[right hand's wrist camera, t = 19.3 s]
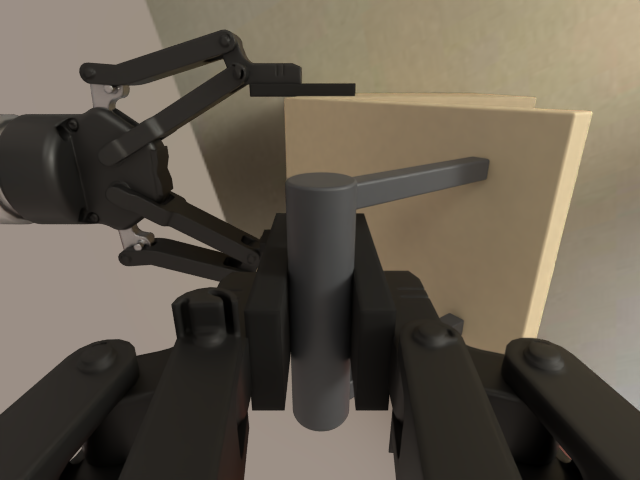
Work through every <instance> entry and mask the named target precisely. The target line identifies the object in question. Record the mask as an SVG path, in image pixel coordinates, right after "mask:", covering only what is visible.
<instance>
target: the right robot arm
mask: <svg viewBox="0 0 640 480" xmlns="http://www.w3.org/2000/svg"><path fill="white" fill-rule="evenodd" d="M172 311H173V317H174V323H175V329H176V335H177V340H176V342H175V345H174V347H172V348H169V349H166V350H162V351H158V352H153V353H148V354H143V355H138V356H136V352H135V348H134V346H133V345H132V344H131V343H130V342H127V341H124V340H120V339H114V340H102V341H98V342H94V343H91V344H89V345H87V346H84V347H82V348H80V349H78V350H77V351H75V352H74V353H72V354H71V355H69V356H68V357H67V358H65V359H64V360H63V361H62V362H61V363H60V364H58V365H57V366H56V367H55V368H54V369H53V370H52V371H50V372H49V373H48V374H47V375H46V376H45V377H43V378H42V379H41V380H40V381H39V382H38V383H37V384H35V385H34V386H33V387H32V388H31V389H29V390H28V391H27V392H26V393H25V394H24V395H23V396H21V397H20V398H19V399H18V400H17V401H16V402H14V403H13V404H12V405H11V406H10V407H9V408H7V409H6V410H5V411H4V412H3V413H2V414H0V480H244V474H245V463H246V454H247V444H248V434H249V421H248V407H249V402H250V398H251V401H252V410H285V401H286V392H287V382H288V373H289V364H290V355H291V339H290V309H289V280H288V250H287V221H286V213H276V216H275V219H274V222H273V225H272V228H271V231H270V234H269V237H268V240H267V243H266V246H265V249H264V252H263V255H262V258H261V261H260V264H259V267H258V270H257V272H231V273H230V274H228V275H227V276H226V277H224V278H223V279H222V280H221V281H220V283H219V285H218V287H217V288H214V287H209V288H201V289H196V290H193V291H190V292H187V293H185V294H183V295H182V296H180V297H178V298H177V299H176V300H175V301H174V302H173V303H172ZM350 361H351V370H352V379H353V389H354V398H355V407H356V410H388V405H389V394H390V399H391V403H392V407H393V410H392V421H391V432H390V443H389V453H394V463H395V473H396V480H640V411H639V410H637V409H636V408H635V407H634V406H633V405H631V404H630V403H629V402H628V401H627V400H626V399H624V398H623V397H622V396H621V395H620V394H619V393H617V392H616V391H615V390H614V389H613V388H612V387H610V386H609V385H608V384H607V383H606V382H605V381H603V380H602V379H601V378H600V377H599V376H598V375H596V374H595V373H594V372H593V371H592V370H591V369H589V368H588V367H587V366H586V365H585V364H584V363H582V362H581V361H580V360H579V359H578V358H576V357H575V356H574V355H573V354H571V353H570V352H568V351H567V350H565V349H564V348H562V347H561V346H558V345H556V344H554V343H551V342H549V341H546V340H543V339H542V340H541V339H537V338H518V339H514V340H511V341H510V342H509V343H508V344H507V345H506V349H505V354H501V353H496V352H491V351H486V350H481V349H478V348H474V347H471V346H468V345H466V344H465V342H464V339H463V337H462V336H461V335H460V333H459V332H458V331H457V330H456V329H454V328H453V327H451V326H450V325H448V324H445V323H442V322H441V320H440V318H439V316H438V314H437V312H436V310H435V308H434V306H433V304H432V302H431V300H430V298H428V294H427V292H426V290H424V286H423V285H422V283H421V281H420V279H419V278H418V277H417V276H415V275H414V274H412V273H411V272H410V271H383V269H382V266H381V263H380V260H379V257H378V254H377V251H376V248H375V245H374V242H373V239H372V236H371V233H370V230H369V227H368V224H367V221H366V218H365V215H364V213H356V231H355V258H354V270H353V292H352V321H351V349H350ZM559 445H560V446H561V447H562V448H563V449H564V450H565V452H566V453H567V454H568V455H569V456H570V457H571V459H572V460H571V459H569V458H568V457H567V456H566V455H565V454H564V453H563V451H562V450H561V449H560V448H559ZM81 447H82V449H81V450H80V452H79V453H78V454H77V455H76V456H75V457H74V458H73V459H72V460H71V458H72V457H73V456H74V455H75V454H76V452H77V451H78V450H79V449H80V448H81ZM70 460H71V461H70Z"/></svg>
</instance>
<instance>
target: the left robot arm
mask: <svg viewBox="0 0 640 480" xmlns="http://www.w3.org/2000/svg"><path fill="white" fill-rule="evenodd" d="M221 59H224V62H225V64H226V66H227V68H226V69H225V70H223V71H222V72H220V73H219V74H217V75H216V76H214V77H213V78H211V79H210V80H208V81H207V82H205V83H203V84H202V85H200V86H199V87H197V88H196V89H194V90H193V91H191V92H190V93H188V94H187V95H185V96H184V97H182V98H180V99H179V100H177V101H176V102H174V103H173V104H171V105H170V106H168V107H167V108H165V109H164V110H162V111H161V112H159V113H158V114H156V115H154V116H153V117H151V118H149V119H147V120H145V121H143V122H142V123H140V124H139V123H137V122H136V121H134V120H133V119H131V118H130V117H128V116H127V115H125V114H124V113H122V112H121V111H119V110H118V109H116V108H115V104H116V102H117V100H119V99H120V98H125V97H127V96H128V94H129V90H130V88H129V85H142V84H146V83H150V82H153V81H156V80H159V79H162V78H165V77H168V76H171V75H175V74H178V73H181V72H184V71H187V70H190V69H193V68H196V67H199V66H203V65H206V64H209V63H212V62H215V61H218V60H221ZM79 73H80V76H81V78H82V79H83V80H84V81H85V82H87V83H89V84H90V86H91V94H92V101H93V108H92V109H90V110H88V111H87V112H86V113H84V114H25V115H21V116H18V115H14V114H0V224H32V223H37V224H104V225H107V226H110V227H112V228H114V229H117V230H119V234H120V238H121V241H122V245H123V248H124V250H123V251H122V252H121V253H120V254H119V256H118V258H119V261H120V263H122V264H123V265H125V266H139V265H154V266H158V267H163V268H166V269H170V270H175V271H179V272H183V273H187V274H191V275H195V276H199V277H203V278H207V279H211V280H215V281H219V282H220V281H221V280H222V279H223V278H224V277H226V276H227V275H228V274H230V273H231V272H256V270H257V268H258V266H259V264H260V261H261V258H262V255H263V252H264V249H265V246H266V243H267V240H268V237H269V234H270V231H271V230H264V232H263V235H262V236H261V238H260V239H258V238H256V237H254V236H252V235H250V234H248V233H246V232H244V231H242V230H240V229H238V228H236V227H234V226H232V225H230V224H228V223H226V222H224V221H222V220H220V219H218V218H216V217H214V216H213V215H211V214H209V213H207V212H205V211H203V210H201V209H199V208H197V207H195V206H193V205H191V204H189V203H187V202H186V200H185V199H184V198H183V197H181V196H179V195H177V194H175V193H173V192H171V190H172V189H173V183H172V178H171V175H170V173H169V171H168V168H167V166H168V158H169V156H168V149H167V146H164V144H163V143H162V141H161V140H163V139H164V138H166V137H167V136H169V135H171V134H172V133H174V132H175V131H176V130H177V129H179V128H180V127H182V126H183V125H185V124H187V123H188V122H190V121H191V120H193V119H194V118H196V117H198V116H199V115H201V114H202V113H204V112H205V111H207V110H209V109H210V108H212V107H213V106H215V105H216V104H218V103H220V102H221V101H223V100H224V99H226V98H227V97H229V96H231V95H232V94H234V93H235V92H237V91H238V90H240V89H242V88H243V87H245V86H246V85H248V84H250V97H296V96H355V84H302V68H301V67H300V66H297V65H295V64H293V63H252V62H251V61H249V59H248V58H247V56H246V54H245V51H244V49H243V45H242V41H241V39H240V38H239V37H238V36H237V35H235V34H233V33H232V32H230V31H227V30H220V31H217V32H214V33H211V34H208V35H205V36H202V37H199V38H196V39H193V40H190V41H187V42H184V43H181V44H178V45H174V46H171V47H168V48H165V49H162V50H159V51H156V52H153V53H150V54H147V55H144V56H141V57H138V58H135V59H132V60H129V61H126V62H123V63H120V64H117V65H111V64H98V63H84V64H82V65H81V67H80V71H79ZM143 218H146V219H148V220H150V221H152V222H154V223H157V224H159V225H161V226H170V227H172V228H174V229H176V230H178V231H180V232H182V233H184V234H186V235H188V236H191V237H192V238H194V239H196V240H199V241H200V242H203V243H205V244H207V245H209V246H211V247H213V248H215V249H217V250H219V251H221V252H218V251H214V250H210V249H206V248H202V247H198V246H194V245H190V244H186V243H183V242H179V241H175V240H171V239H165V238H154V234H153V233H151V232H150V233H149V232H144V231H141V230H140V229H139V228H138V226H137V223H138V222H140V221H141V220H142V219H143ZM222 252H223V253H222Z"/></svg>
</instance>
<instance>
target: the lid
mask: <svg viewBox="0 0 640 480" xmlns="http://www.w3.org/2000/svg"><path fill="white" fill-rule="evenodd" d="M284 111H285V142H286V173H287V180H286V182H285V191H286V221H287V250H288V280H289V309H290V339H291V368H292V398H293V413H294V416H295V418H296V419H297V421H298V422H299V423H300V424H301V425H302V426H304V427H306V428H308V429H310V430H314V431H328V430H332V429H335V428H336V427H338V426H340V425H341V424H342V423H343V422H344V421H345V419H346V418H347V416H348V413H349V400H350V399H352V398H353V397H354V389H353V379H352V370H351V361H350V349H351V321H352V292H353V270H354V258H355V231H356V213H364V215H365V218H366V221H367V224H368V227H369V230H370V233H371V236H372V239H373V242H374V245H375V248H376V251H377V254H378V257H379V260H380V263H381V266H382V269H383V271H410V272H411V273H412V274H414V275H415V276H417V277H418V278H419V279H420V281H421V283H422V285H423V286H424V290H426V292H427V294H428V298H430V300H431V302H432V304H433V306H434V308H435V310H436V312H437V314H438V316H439V318H440V320H441V322H442V323H445V324H448V325H450V326H451V327H453V328H454V329H456V330H457V331H458V332H459V333H460V335H461V336H462V337H463V339H464V342H465V344H466V345H468V346H471V347H474V348H478V349H481V350H486V351H491V352H496V353H501V354H505V349H506V345H507V344H508V343H509V342H510V341H511V340H514V339H518V338H537V334H538V330H539V326H540V322H541V318H542V314H543V310H544V306H545V302H546V298H547V294H548V290H549V286H550V282H551V278H552V274H553V270H554V266H555V262H556V258H557V254H558V250H559V246H560V242H561V238H562V234H563V230H564V226H565V222H566V218H567V214H568V210H569V206H570V202H571V198H572V193H573V189H574V185H575V181H576V177H577V173H578V169H579V165H580V161H581V157H582V153H583V149H584V145H585V141H586V137H587V133H588V129H589V125H590V121H591V117H592V112H591V111H581V110H560V109H539V108H518V107H496V106H475V105H454V104H433V103H411V102H390V101H369V100H348V99H326V98H305V97H290V98H284Z"/></svg>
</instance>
